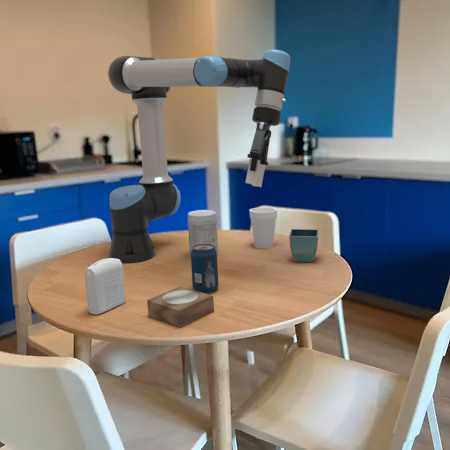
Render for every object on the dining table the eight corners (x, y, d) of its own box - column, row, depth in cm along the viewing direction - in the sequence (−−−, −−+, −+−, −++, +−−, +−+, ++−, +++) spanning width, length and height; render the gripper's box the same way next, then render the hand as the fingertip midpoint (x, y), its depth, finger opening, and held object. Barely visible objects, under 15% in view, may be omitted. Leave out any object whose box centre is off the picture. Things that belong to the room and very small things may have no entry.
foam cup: (278, 249, 164) (277, 212, 161) (251, 250, 164) (250, 213, 161) (275, 242, 173) (275, 206, 170) (250, 243, 173) (249, 207, 170)
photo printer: (116, 299, 126) (112, 253, 123) (128, 302, 123) (124, 255, 120) (85, 313, 117) (80, 264, 114) (98, 316, 115) (92, 267, 112)
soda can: (201, 283, 134) (199, 242, 131) (223, 287, 131) (221, 244, 128) (187, 292, 128) (185, 248, 126) (209, 296, 125) (207, 251, 122)
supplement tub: (191, 252, 165) (188, 210, 162) (218, 251, 165) (216, 209, 162) (188, 260, 156) (186, 216, 152) (218, 259, 156) (216, 215, 152)
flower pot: (318, 264, 146) (318, 236, 144) (289, 264, 148) (288, 235, 146) (318, 256, 155) (318, 229, 153) (291, 255, 157) (290, 228, 155)
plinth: (148, 315, 114) (147, 298, 113) (181, 301, 122) (180, 285, 121) (181, 327, 107) (179, 309, 106) (214, 311, 115) (213, 294, 114)
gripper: (278, 100, 120) (262, 185, 121) (284, 119, 144) (270, 189, 146) (248, 96, 121) (233, 180, 122) (259, 115, 145) (246, 185, 147)
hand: (253, 185), depth 134 cm, fingers open, 13 cm apart
